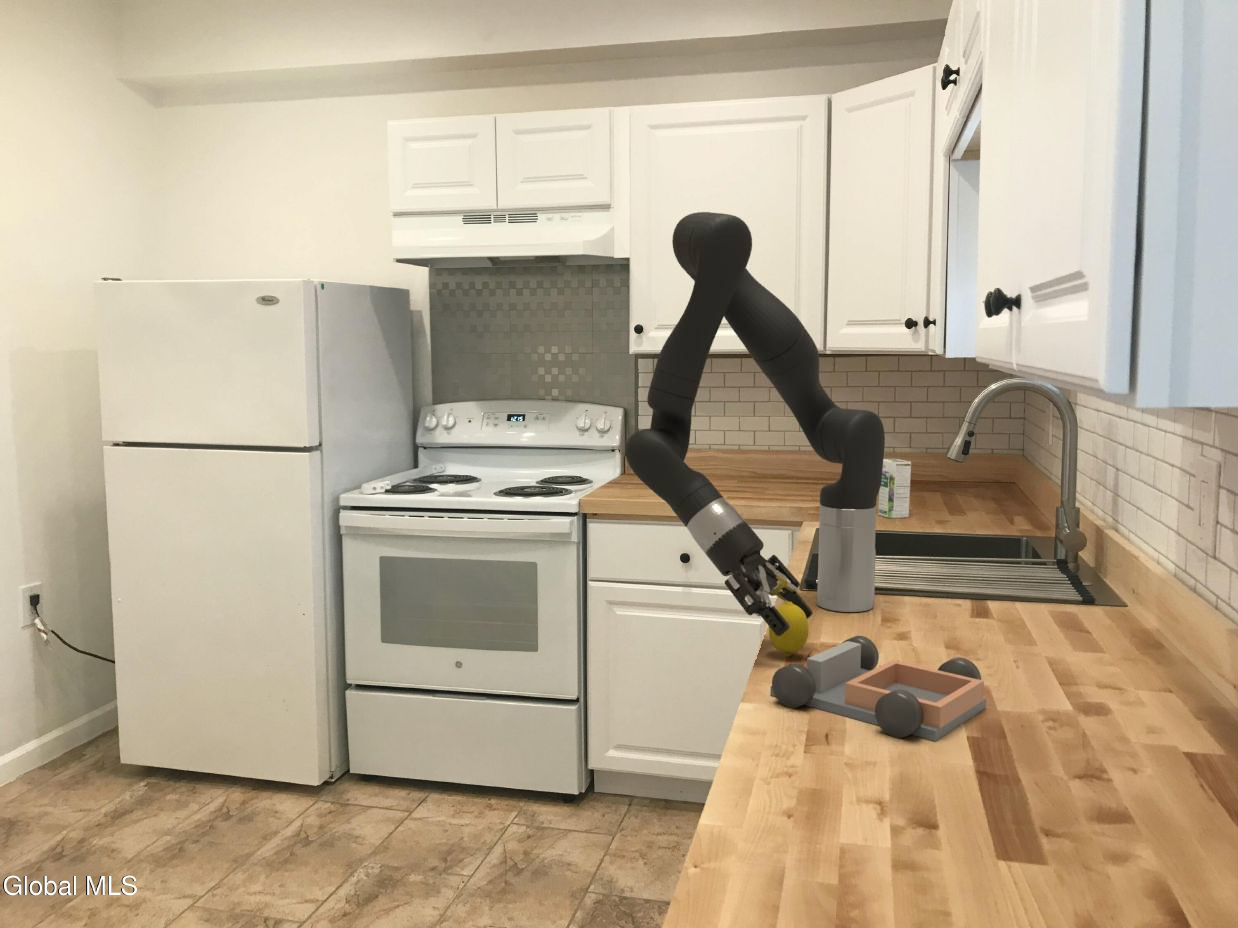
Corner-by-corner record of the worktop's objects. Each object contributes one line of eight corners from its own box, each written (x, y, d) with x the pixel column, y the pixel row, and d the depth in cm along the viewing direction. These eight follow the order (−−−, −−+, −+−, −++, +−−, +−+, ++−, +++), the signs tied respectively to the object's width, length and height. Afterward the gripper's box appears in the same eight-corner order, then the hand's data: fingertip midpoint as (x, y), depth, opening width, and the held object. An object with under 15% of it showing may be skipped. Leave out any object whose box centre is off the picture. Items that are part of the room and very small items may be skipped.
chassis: (835, 665, 140) (836, 628, 140) (992, 703, 126) (994, 662, 125) (761, 699, 127) (762, 659, 127) (927, 746, 113) (929, 701, 112)
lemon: (778, 664, 141) (779, 607, 140) (762, 652, 146) (763, 598, 145) (814, 660, 142) (816, 605, 142) (797, 649, 148) (798, 595, 147)
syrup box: (877, 515, 260) (879, 458, 259) (897, 513, 262) (899, 458, 260) (889, 518, 255) (891, 461, 253) (910, 517, 257) (912, 460, 255)
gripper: (719, 527, 140) (795, 621, 135) (761, 513, 152) (833, 598, 147) (684, 561, 144) (757, 653, 139) (729, 544, 156) (797, 628, 151)
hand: (796, 624), depth 143 cm, fingers open, 8 cm apart
